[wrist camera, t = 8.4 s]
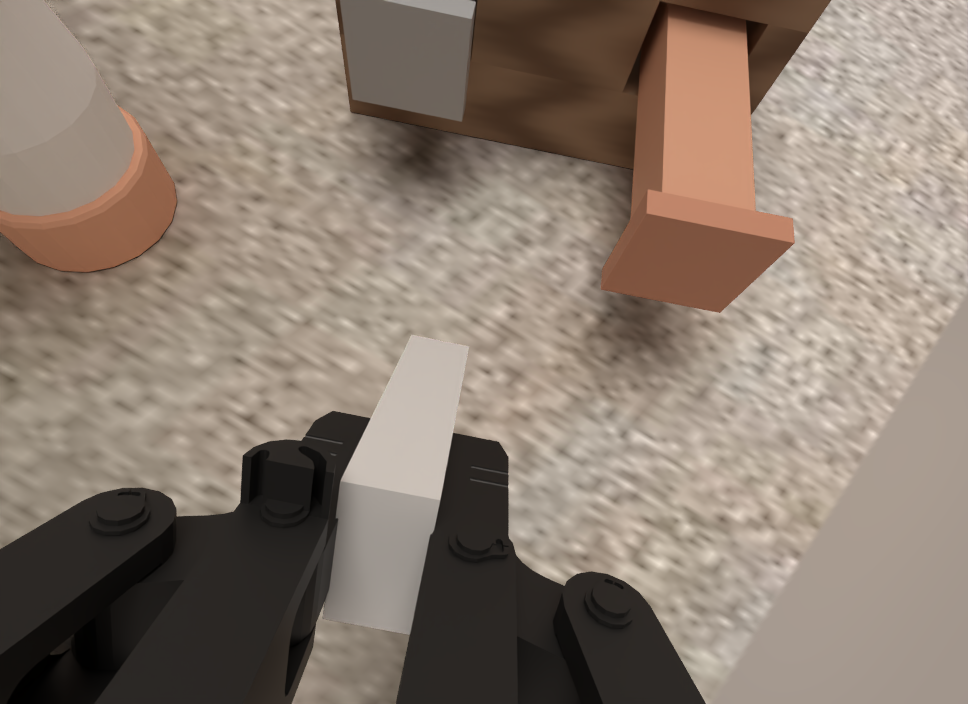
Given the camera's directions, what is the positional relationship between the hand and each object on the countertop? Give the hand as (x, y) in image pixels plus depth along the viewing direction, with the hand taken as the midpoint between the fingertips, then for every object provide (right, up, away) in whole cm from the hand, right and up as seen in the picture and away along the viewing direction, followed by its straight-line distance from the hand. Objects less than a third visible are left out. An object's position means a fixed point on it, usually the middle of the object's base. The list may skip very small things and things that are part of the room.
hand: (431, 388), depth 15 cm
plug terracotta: (+10, +9, +11) cm, 17 cm away
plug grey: (-1, +18, +14) cm, 23 cm away
